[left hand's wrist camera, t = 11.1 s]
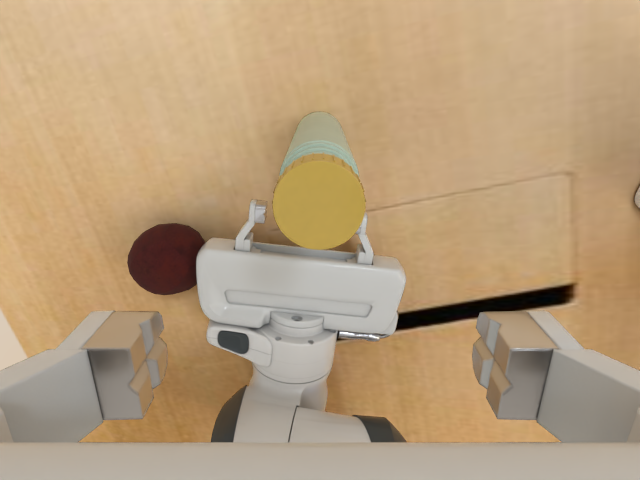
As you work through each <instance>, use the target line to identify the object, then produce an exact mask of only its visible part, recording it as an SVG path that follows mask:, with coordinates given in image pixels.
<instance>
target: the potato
mask: <svg viewBox="0 0 640 480" xmlns="http://www.w3.org/2000/svg"><path fill="white" fill-rule="evenodd" d="M204 244H205V241H204V240H203V238H202V237H201V235H200V234H199V232H197V231H196V230H194V229H193V228H191V227H189V226H186V225H181V224H177V223H173V224H160V225H157V226H155V227H153V228H151V229H149V230H147V231H145V232H144V233H142V234H141V235H140V236H139V237H138V238H137V239H136V240H135V241H134V244H133V246H132V248H131V250H130V252H129V255H128V268H129V272H130V274H131V276H132V277H133V279H134V280H135V281H136V282H137V283H138V284H139V285H140V286H141V287H142V288H144V289H145V290H147V291H149V292H152V293H154V294H160V295H170V294H176V293H179V292H183V291H186V290H189V289H191V288H192V287H194V286H195V285H196V284H197V277H196V259H197V255H198V252H199V250H200V249H201V247H202V246H203V245H204Z"/></svg>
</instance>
